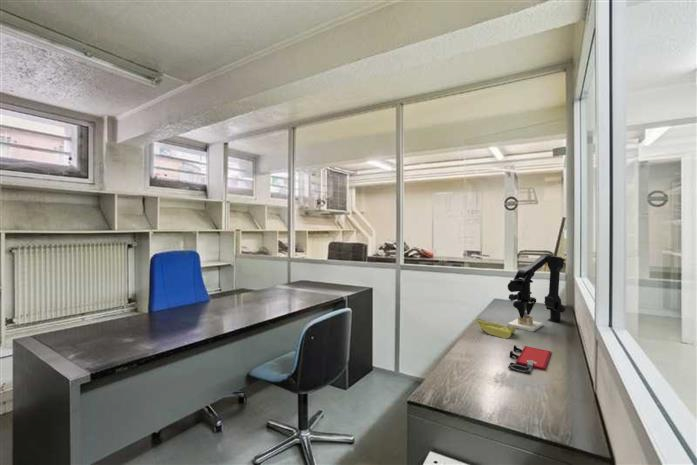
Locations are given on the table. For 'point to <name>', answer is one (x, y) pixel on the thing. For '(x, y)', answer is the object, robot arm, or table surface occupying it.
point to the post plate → (531, 327)
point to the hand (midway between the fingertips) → (524, 316)
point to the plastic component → (496, 329)
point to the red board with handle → (530, 359)
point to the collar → (525, 320)
